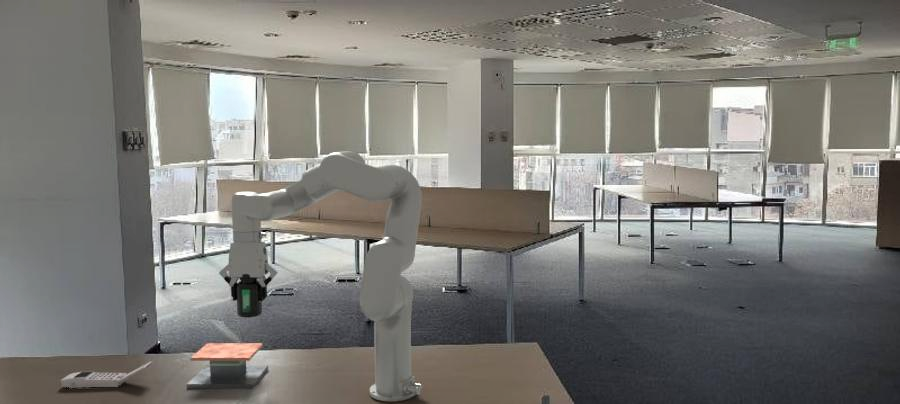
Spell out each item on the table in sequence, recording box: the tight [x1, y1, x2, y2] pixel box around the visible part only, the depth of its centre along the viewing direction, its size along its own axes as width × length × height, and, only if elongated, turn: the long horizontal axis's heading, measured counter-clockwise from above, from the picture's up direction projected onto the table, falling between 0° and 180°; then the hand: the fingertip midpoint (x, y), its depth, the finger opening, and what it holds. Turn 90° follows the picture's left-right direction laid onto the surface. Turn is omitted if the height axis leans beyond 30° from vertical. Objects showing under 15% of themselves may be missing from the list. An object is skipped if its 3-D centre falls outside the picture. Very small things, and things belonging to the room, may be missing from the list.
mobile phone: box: [60, 360, 153, 389], centre depth 184 cm, size 6×6×25 cm
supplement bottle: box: [236, 274, 264, 318], centre depth 187 cm, size 7×7×12 cm
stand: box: [186, 342, 269, 390], centre depth 188 cm, size 18×14×8 cm
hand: (249, 299), depth 187 cm, fingers closed on supplement bottle, 6 cm apart
